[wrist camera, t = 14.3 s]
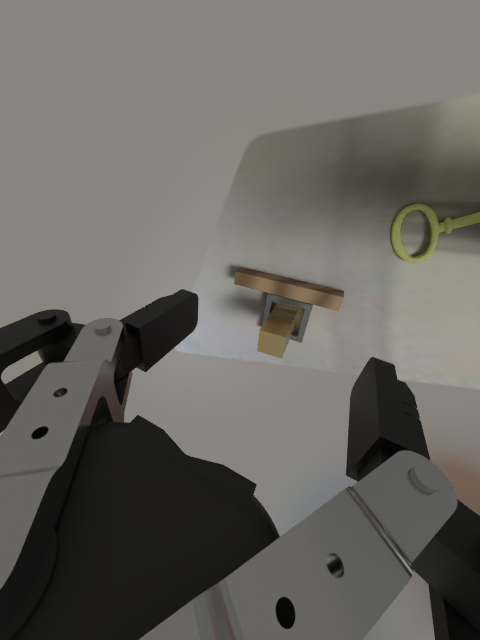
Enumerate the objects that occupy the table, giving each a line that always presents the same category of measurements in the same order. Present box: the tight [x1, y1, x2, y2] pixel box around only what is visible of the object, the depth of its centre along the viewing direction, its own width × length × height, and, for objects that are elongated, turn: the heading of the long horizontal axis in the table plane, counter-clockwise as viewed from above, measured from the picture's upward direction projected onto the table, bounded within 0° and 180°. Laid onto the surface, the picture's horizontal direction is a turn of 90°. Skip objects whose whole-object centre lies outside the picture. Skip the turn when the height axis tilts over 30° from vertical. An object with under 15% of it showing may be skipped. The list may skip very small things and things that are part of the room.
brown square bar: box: [234, 267, 344, 311], centre depth 39 cm, size 18×2×2 cm, turn 85°
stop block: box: [257, 303, 299, 358], centre depth 39 cm, size 4×4×10 cm
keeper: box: [262, 293, 313, 342], centre depth 42 cm, size 8×8×1 cm
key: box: [391, 204, 480, 262], centre depth 27 cm, size 7×12×2 cm, turn 131°
